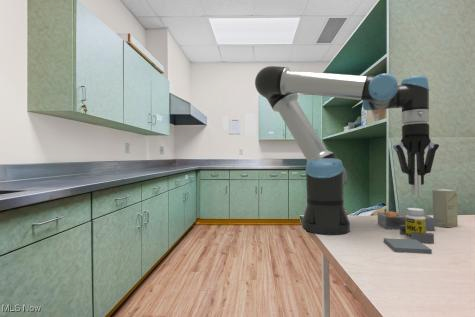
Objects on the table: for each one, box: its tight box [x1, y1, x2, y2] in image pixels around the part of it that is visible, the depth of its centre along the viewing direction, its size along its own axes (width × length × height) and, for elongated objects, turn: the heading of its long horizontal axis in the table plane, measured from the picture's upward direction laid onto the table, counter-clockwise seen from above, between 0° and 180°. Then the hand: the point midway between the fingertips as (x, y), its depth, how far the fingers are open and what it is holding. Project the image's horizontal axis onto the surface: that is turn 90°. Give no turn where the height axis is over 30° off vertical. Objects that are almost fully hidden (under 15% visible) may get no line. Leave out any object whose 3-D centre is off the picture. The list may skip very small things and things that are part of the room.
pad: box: [383, 237, 433, 255], centre depth 66 cm, size 8×8×1 cm
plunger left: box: [385, 210, 397, 216], centre depth 87 cm, size 3×3×4 cm
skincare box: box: [431, 188, 459, 228], centre depth 87 cm, size 6×4×12 cm
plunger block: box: [377, 211, 436, 232], centre depth 86 cm, size 14×8×4 cm, turn 78°
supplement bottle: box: [405, 207, 427, 239], centre depth 74 cm, size 5×5×8 cm
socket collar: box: [399, 225, 435, 245], centre depth 74 cm, size 9×5×2 cm, turn 168°
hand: (416, 194), depth 85 cm, fingers closed
